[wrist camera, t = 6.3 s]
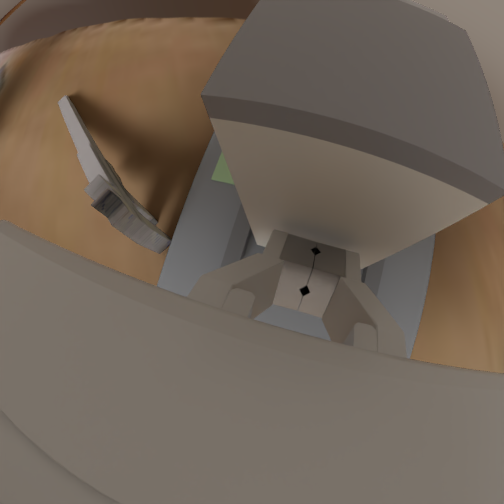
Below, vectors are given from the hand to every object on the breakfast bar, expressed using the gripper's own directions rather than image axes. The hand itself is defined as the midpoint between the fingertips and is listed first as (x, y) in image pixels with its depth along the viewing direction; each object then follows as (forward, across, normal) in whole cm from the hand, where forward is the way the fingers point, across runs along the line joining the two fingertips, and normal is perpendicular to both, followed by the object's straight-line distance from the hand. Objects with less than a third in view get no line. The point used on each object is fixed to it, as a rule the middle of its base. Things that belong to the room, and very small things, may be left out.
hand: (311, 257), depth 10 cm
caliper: (+7, +16, +1) cm, 18 cm away
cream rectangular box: (+5, 0, +1) cm, 5 cm away
